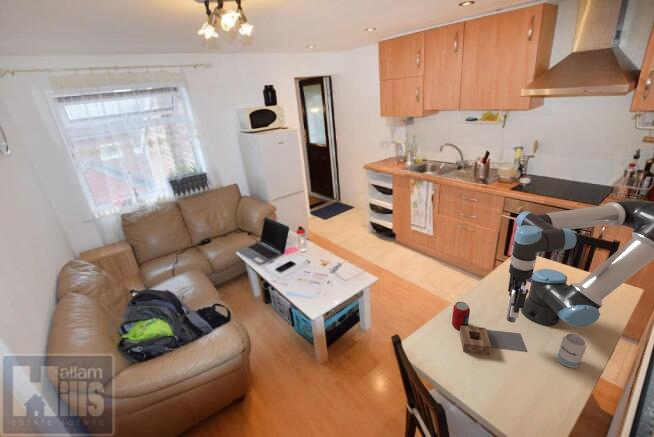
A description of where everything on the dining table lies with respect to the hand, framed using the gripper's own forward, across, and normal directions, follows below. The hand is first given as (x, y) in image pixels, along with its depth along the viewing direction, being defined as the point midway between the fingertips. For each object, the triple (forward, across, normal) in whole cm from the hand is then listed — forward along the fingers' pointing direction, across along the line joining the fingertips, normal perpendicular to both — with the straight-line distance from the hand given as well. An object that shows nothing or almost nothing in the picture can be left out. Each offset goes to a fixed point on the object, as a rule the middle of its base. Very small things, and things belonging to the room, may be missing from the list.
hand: (512, 313), depth 121 cm
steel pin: (+3, 0, 0) cm, 3 cm away
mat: (+15, 0, -1) cm, 15 cm away
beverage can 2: (+16, +7, +19) cm, 26 cm away
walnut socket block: (+15, +4, -14) cm, 21 cm away
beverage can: (+15, -6, -18) cm, 24 cm away
